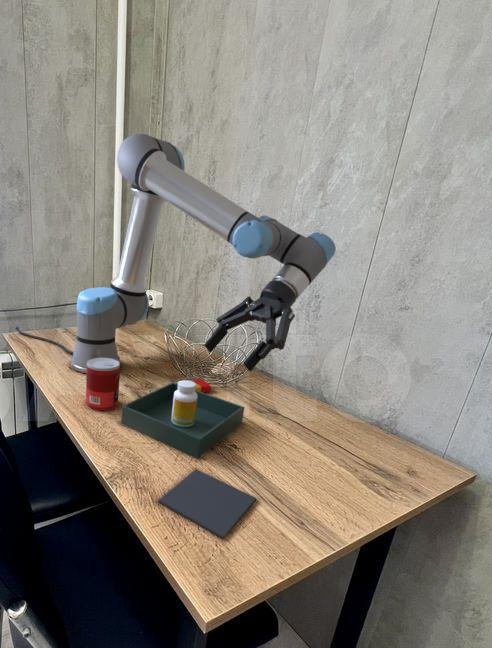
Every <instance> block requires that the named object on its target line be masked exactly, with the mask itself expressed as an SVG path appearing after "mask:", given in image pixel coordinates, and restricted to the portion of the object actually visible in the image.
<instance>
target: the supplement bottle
mask: <svg viewBox="0 0 492 648" xmlns="http://www.w3.org/2000/svg"><path fill="white" fill-rule="evenodd" d="M177 382H178V390H176V391H175V392H174V397H173V407H172V416H171V421H172V423H173V424H175V425H177V426H180V427H190V426H192V425H193V424H194V422H195V414H196V406H197V397H198V396H197V393H196V392H195V388H196V384H195V383H194V382H192V381H189V380H188V379H187V380H185V379H183V380H179V381H177Z"/></svg>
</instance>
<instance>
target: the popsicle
mask: <svg viewBox="0 0 492 648" xmlns="http://www.w3.org/2000/svg"><path fill="white" fill-rule="evenodd" d="M188 381H192V382H194V383H195V384H196V388H195V390H197V391H199V392H202V393H209V392H210V391H211V388H212V386H211V384H210V383H208V382H207V381H206V380H204V379H201V378H200V379H199V378H198V379H190V380H188ZM178 382H179V381H174V383H177V384H178Z"/></svg>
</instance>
